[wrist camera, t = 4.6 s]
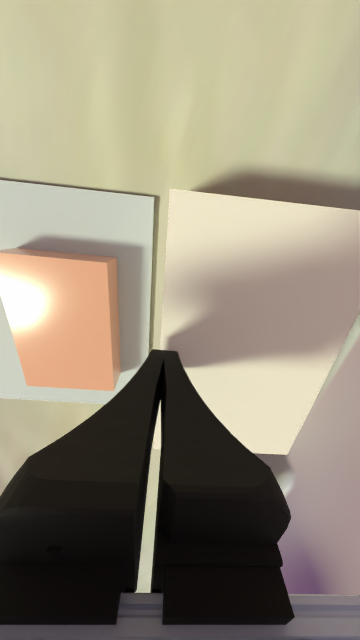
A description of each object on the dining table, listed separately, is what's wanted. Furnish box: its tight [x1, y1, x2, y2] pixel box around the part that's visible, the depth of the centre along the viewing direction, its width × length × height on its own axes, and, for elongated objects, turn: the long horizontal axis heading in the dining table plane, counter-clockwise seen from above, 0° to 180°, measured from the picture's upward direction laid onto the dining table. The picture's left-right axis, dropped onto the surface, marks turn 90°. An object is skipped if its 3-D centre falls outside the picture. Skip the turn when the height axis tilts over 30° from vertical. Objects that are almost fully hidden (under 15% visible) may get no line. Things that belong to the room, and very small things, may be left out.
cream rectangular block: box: [153, 189, 360, 455], centre depth 13 cm, size 16×10×4 cm, turn 174°
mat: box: [0, 180, 154, 404], centre depth 14 cm, size 16×15×1 cm
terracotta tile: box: [0, 248, 121, 391], centre depth 13 cm, size 9×6×2 cm, turn 174°
